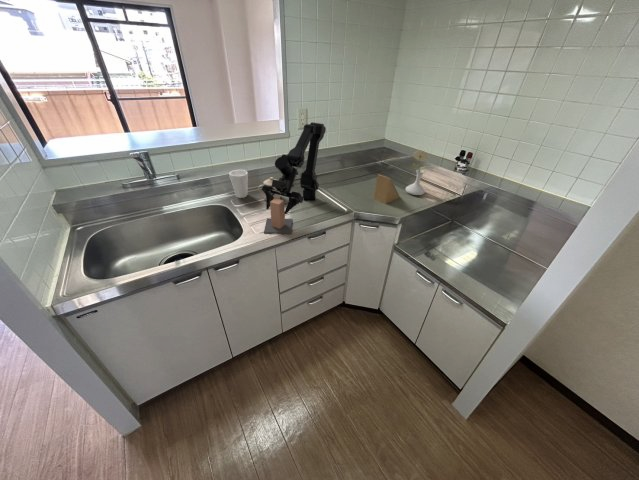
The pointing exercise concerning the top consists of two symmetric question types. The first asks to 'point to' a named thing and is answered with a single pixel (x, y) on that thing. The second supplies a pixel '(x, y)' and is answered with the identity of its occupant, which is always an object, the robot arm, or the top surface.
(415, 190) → the flower in vase
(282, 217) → the terracotta block
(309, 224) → the top surface
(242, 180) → the foam cup
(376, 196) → the sandwich container
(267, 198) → the robot arm
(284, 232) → the black mat
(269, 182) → the teacup with lid
